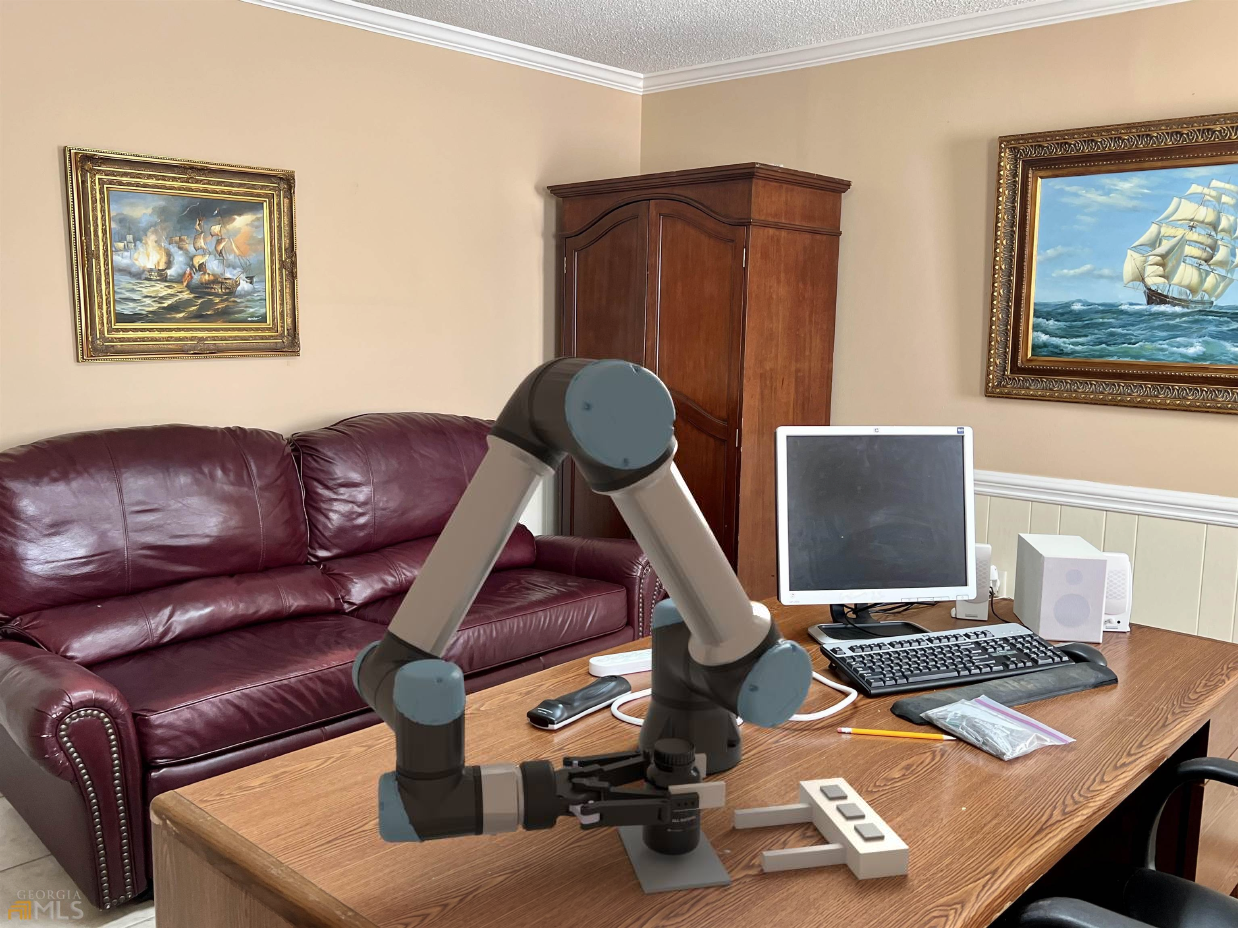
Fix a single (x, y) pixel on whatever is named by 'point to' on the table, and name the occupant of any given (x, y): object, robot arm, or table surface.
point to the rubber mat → (673, 864)
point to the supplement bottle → (667, 770)
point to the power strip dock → (832, 832)
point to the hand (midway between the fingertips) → (714, 778)
